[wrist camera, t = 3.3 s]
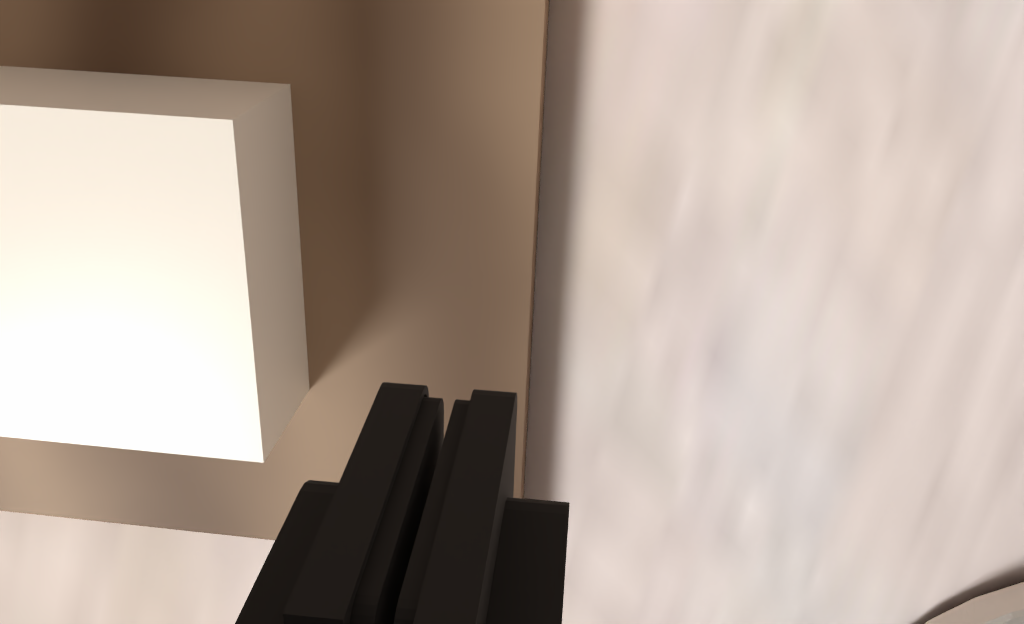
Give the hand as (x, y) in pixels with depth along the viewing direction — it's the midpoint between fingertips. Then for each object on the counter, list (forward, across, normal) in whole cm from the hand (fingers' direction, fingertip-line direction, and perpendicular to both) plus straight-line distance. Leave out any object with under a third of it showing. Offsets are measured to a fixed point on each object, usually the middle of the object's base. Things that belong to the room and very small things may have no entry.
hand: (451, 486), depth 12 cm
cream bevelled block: (+9, +13, +1) cm, 15 cm away
